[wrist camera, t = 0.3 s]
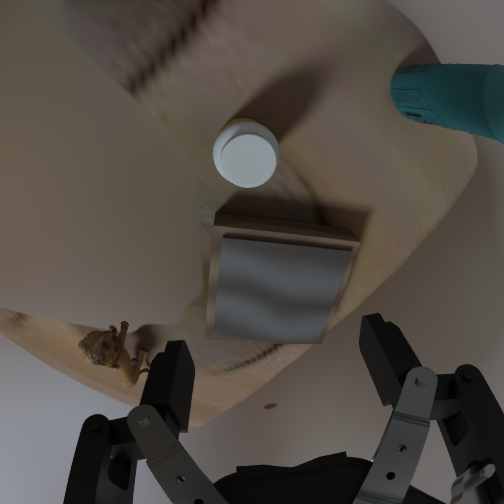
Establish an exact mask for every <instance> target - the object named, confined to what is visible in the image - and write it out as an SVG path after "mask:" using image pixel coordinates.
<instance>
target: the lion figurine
mask: <svg viewBox="0 0 504 504" xmlns="http://www.w3.org/2000/svg"><path fill="white" fill-rule="evenodd" d="M128 326H129V324H128V322H126V321H122V322H121V331H120V333H119V335H118V336H116V334H117V329H116V328H115V327H114V326H112V325H111V326H110V327H109V330H110V331H104V332H102V331H97V330H95V331H92V332H90V333H89V334H87V337H85V338H84V340H81V341H80V342H79V344H78V347H79V348H80V349H81V350H82V351H83V355H84V356H83V357H84V358H83V359H84V360H85V361H86V362H87V363H89V364H92V365H96V366H97V365H100V366H106V367H109V368H113V369H114V370H115V371H116V373H117V375H118V378H119V382H120V383H121V384H122V385H124V386H126V387H128V388H131V387H133V386H134V385H135V384H136V383H137V381H138V378H139V375H140V374H141V373H143V372H149V371H150V370H149V369H147V368H145V369H142V370H141V371H140V367H141V364H142V362H143V358H144V355H145V352H146V351H145V350H144V349H139V359H138V362H136V361H135V360H131V359H130V356H129V353H128V352H127V350H126V349H125V348H124V343H125V337H126V333H127V329H128Z"/></svg>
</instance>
